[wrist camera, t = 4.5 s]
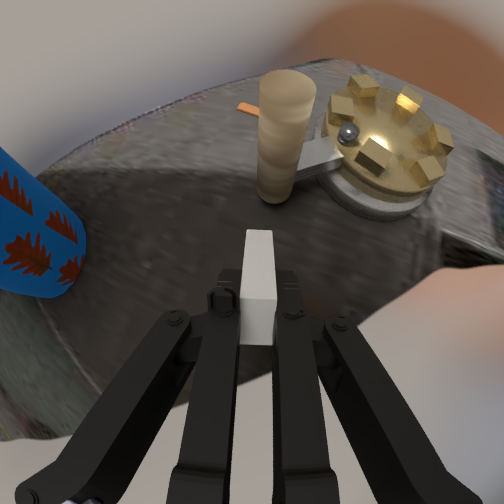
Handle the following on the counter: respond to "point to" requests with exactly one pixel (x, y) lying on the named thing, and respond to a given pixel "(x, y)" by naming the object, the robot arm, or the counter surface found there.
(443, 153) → the studded brass turntable
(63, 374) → the counter surface
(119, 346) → the counter surface
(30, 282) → the thermos
